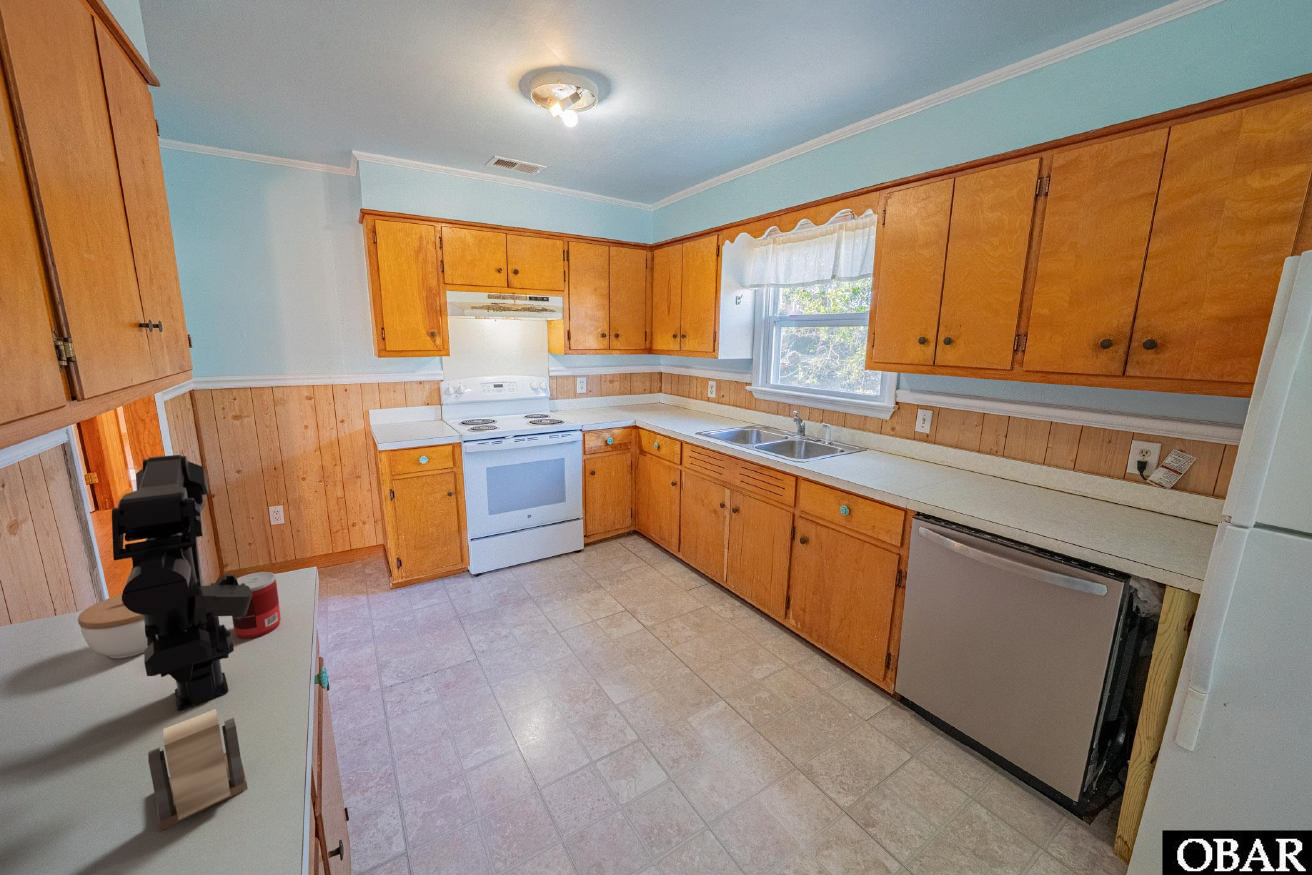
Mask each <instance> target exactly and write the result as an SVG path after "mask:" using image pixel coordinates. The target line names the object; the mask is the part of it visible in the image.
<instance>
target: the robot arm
mask: <svg viewBox="0 0 1312 875" xmlns="http://www.w3.org/2000/svg"><path fill="white" fill-rule="evenodd" d="M135 482H136V487H135V488H136V490H135V491H131V492H129V493H125V494H124V495H122V497H121V498H120V499H119V501H118V505H117V507H112V509H111V529H112V530H111V531H112V557H113V561H119V560H125V559H131V563H132V568H131V570H130V572H129V575H128V577H127V581H126V583H125V585H124V587H123V590H122V593H121V595H122V601H123V604H124V606H125V607H126V608H127V609H128V610H130V611H132V612H134V613H137V614H141V615H143V617H144V623H145V634H146V638H147V645H148V648H147V649H146V650H145V651H144V653H143V656H144V667H145V672H146V676H147V677H155V676H158V675H159V676H160V678H164V677H166V676H170V677H171V678H173V679H174V680H175V682H176V683H175V684H176V688H175V689H174V695H175V706H176V710H177V711H181V710H185V709H186V708H189V707H192V706H195V705H197V704H201V703H202V702H205V701H207V700H210V699H213V698H216V697H217V698H218V697H219V696H221V695H224V694H227V693H228V692H229V685H228V682H227V678H226V675H225V672H223V671H222V666H221V665H222V663H221V660H223V659H229V658H230V657H229V655H230V654H231V653H233V652H234V651H235V648H234V642H233V636H232V633H231V632H232V631H230V630H229V629H227V627H226V626H225V624H220V619H219V618H220V617H232V616H234V617H242V616H245V615H246V613H247V610H248V607H249V603H250V600H251V597H252V592H251V590H250V587H249V586H246V585H245V583H241V585H239V584H238V581H237V577H236V575H235V574H231V573H229V574H228V573H226V574H222V576H220V578H218V579H217V580H216V582H212V583H210V585H203V578H202V577H203V576H202V570H201V569H202V567H201V560H200V551H199V543H198V541H199V540H198V537H203V536H204V535H203V534H204V532H203V521H202V511H203V509H204V508H205V506H206V498H205V496H206V495H209V493H210V492H209V491H210V490H209V485H208V484H209V483H208V477H207V474H206V470H205V467H204V466H202V465H199V464H196V463H194V462H191V461H189V460H188V458H187V455H181V454H173V455H163V456H161V455H159V456H151V457H150V456H149V457H148V458H146V459H142V468H141V469H140V470H138V472H136V473H135ZM139 540H141V541H139ZM124 541H126V542H128V543H126V544H124ZM134 541H137V542H134ZM129 542H130V543H129Z"/></svg>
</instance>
